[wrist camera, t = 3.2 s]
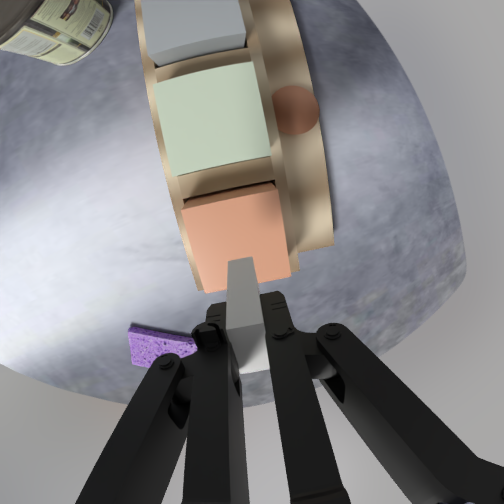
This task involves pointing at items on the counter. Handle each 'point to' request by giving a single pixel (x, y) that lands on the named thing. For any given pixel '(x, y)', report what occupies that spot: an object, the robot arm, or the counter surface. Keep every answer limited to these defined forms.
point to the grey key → (191, 28)
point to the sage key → (212, 118)
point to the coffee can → (54, 28)
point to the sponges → (157, 345)
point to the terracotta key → (237, 233)
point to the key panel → (277, 122)
